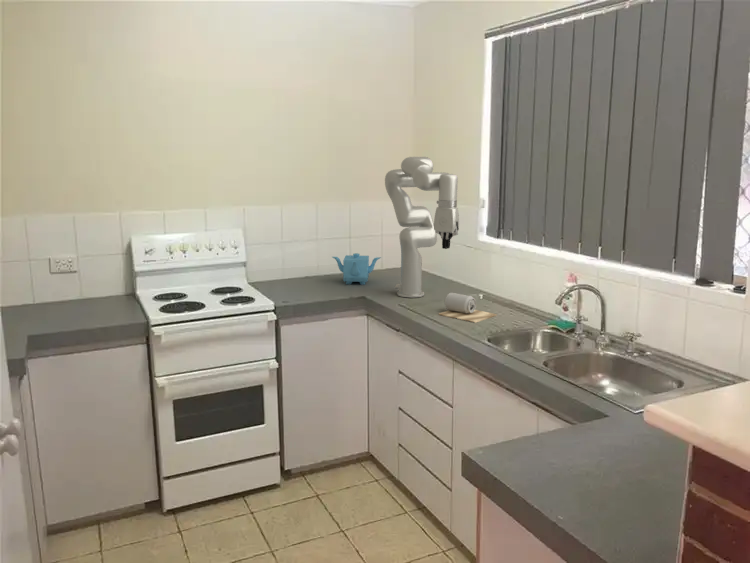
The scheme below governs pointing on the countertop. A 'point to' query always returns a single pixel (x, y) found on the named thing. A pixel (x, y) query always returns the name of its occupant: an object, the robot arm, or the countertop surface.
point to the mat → (469, 315)
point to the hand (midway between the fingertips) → (445, 248)
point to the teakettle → (356, 268)
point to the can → (460, 303)
